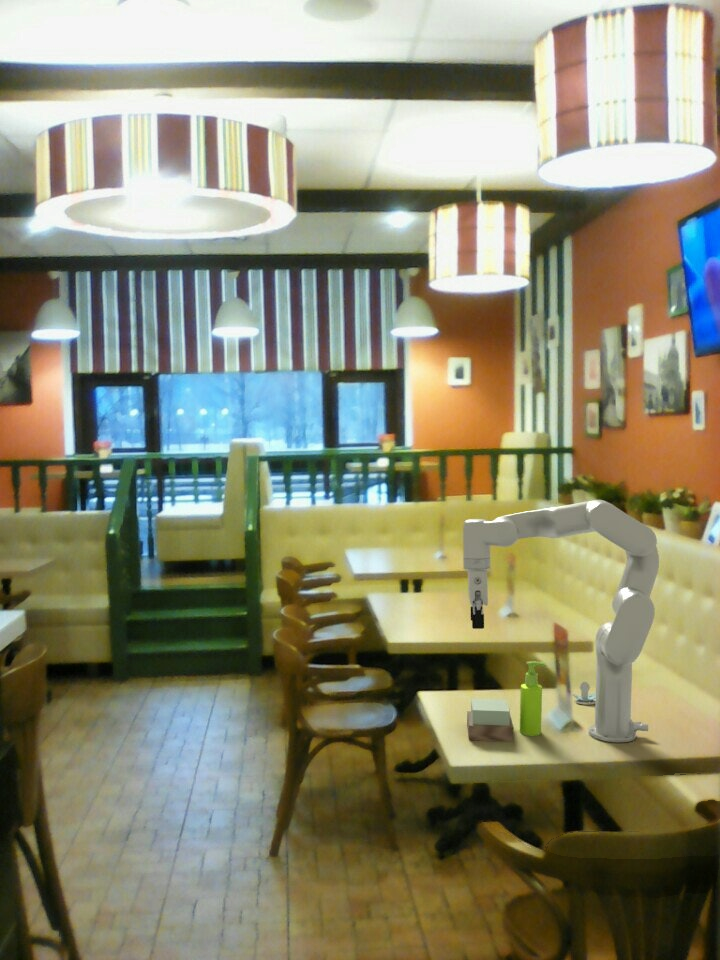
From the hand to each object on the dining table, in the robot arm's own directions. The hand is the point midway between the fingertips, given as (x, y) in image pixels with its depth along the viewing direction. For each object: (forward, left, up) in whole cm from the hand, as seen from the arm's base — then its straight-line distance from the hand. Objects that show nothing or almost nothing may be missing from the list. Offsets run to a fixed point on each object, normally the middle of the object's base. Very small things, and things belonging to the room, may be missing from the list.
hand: (477, 624), depth 244 cm
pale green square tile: (-4, +2, -26) cm, 27 cm away
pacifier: (-35, -29, -31) cm, 55 cm away
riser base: (-4, +2, -30) cm, 31 cm away
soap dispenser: (-16, 0, -30) cm, 34 cm away
